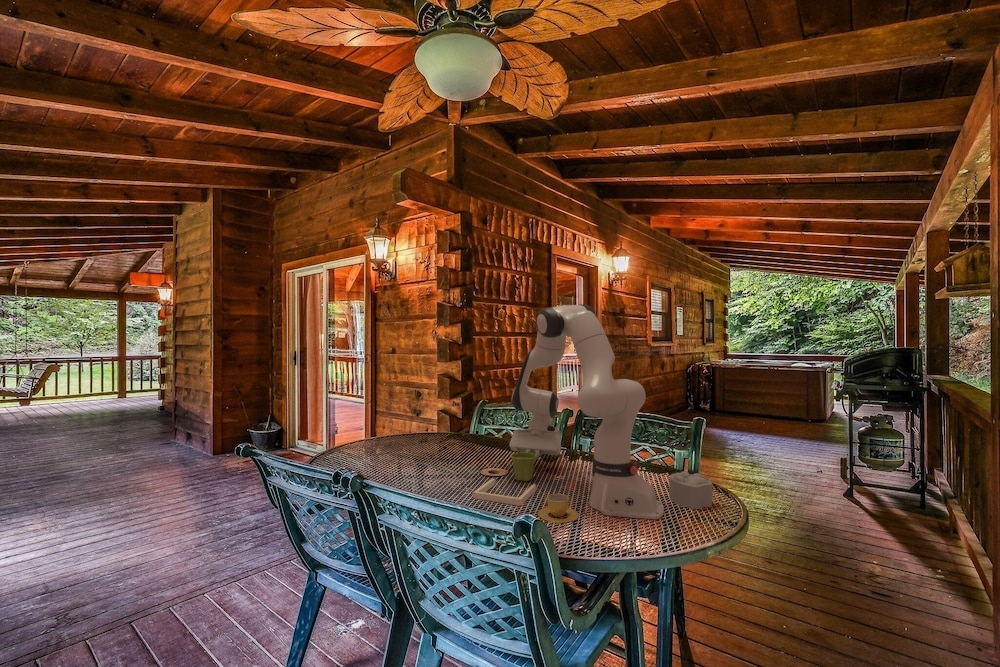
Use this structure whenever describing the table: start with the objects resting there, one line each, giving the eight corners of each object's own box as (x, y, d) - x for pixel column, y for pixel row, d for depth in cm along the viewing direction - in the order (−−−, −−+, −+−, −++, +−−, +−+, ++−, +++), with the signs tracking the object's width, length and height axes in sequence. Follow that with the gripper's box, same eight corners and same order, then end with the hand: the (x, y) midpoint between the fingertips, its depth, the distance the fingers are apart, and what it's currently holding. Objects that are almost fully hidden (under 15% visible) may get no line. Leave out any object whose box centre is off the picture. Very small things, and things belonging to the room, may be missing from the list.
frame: (536, 490, 157) (536, 484, 157) (520, 506, 143) (520, 499, 143) (491, 484, 163) (491, 478, 163) (473, 498, 149) (473, 492, 149)
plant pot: (506, 477, 172) (506, 453, 172) (528, 473, 176) (528, 451, 176) (517, 484, 163) (517, 460, 163) (540, 481, 167) (541, 457, 167)
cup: (574, 526, 129) (574, 507, 129) (533, 520, 133) (533, 501, 133) (581, 510, 140) (581, 493, 140) (543, 505, 144) (543, 488, 144)
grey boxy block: (692, 511, 140) (692, 482, 140) (660, 497, 152) (661, 470, 152) (716, 506, 144) (717, 478, 144) (684, 492, 156) (684, 467, 156)
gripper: (512, 424, 188) (503, 454, 179) (561, 428, 180) (554, 460, 171) (516, 433, 192) (507, 462, 183) (564, 437, 184) (557, 469, 175)
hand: (530, 461), depth 177 cm, fingers closed
